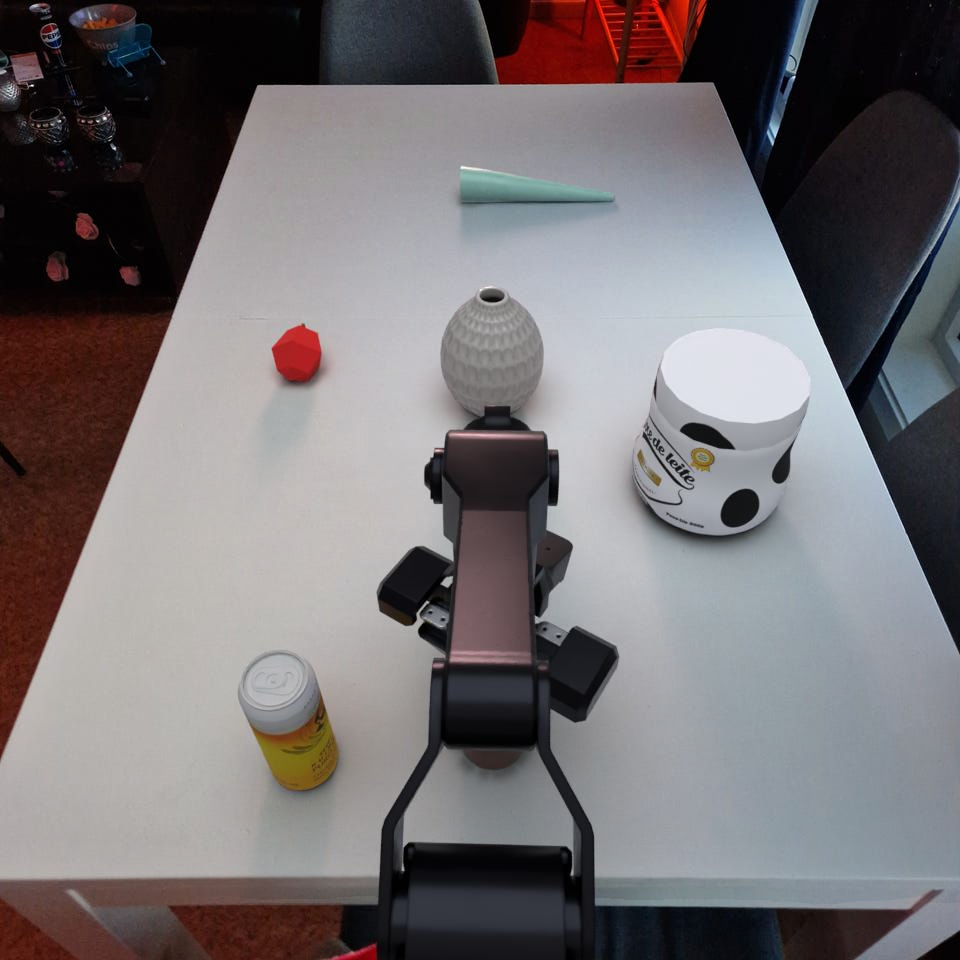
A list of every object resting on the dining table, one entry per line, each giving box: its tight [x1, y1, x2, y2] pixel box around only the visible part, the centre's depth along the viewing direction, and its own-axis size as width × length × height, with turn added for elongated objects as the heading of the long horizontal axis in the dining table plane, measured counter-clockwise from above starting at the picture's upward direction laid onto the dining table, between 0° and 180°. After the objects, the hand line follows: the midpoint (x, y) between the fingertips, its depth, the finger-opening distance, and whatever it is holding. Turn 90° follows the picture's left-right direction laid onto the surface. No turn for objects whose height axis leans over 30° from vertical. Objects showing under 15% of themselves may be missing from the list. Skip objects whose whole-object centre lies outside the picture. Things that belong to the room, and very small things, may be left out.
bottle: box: [462, 750, 523, 770], centre depth 72 cm, size 6×6×13 cm
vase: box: [439, 285, 545, 418], centre depth 102 cm, size 13×13×17 cm
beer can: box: [237, 648, 339, 791], centre depth 69 cm, size 6×6×15 cm
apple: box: [271, 322, 323, 383], centre depth 110 cm, size 7×7×8 cm
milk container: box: [631, 327, 811, 537], centre depth 90 cm, size 17×17×18 cm
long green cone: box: [459, 165, 616, 203], centre depth 141 cm, size 5×6×27 cm
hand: (493, 682), depth 69 cm, fingers closed on cap, 4 cm apart
